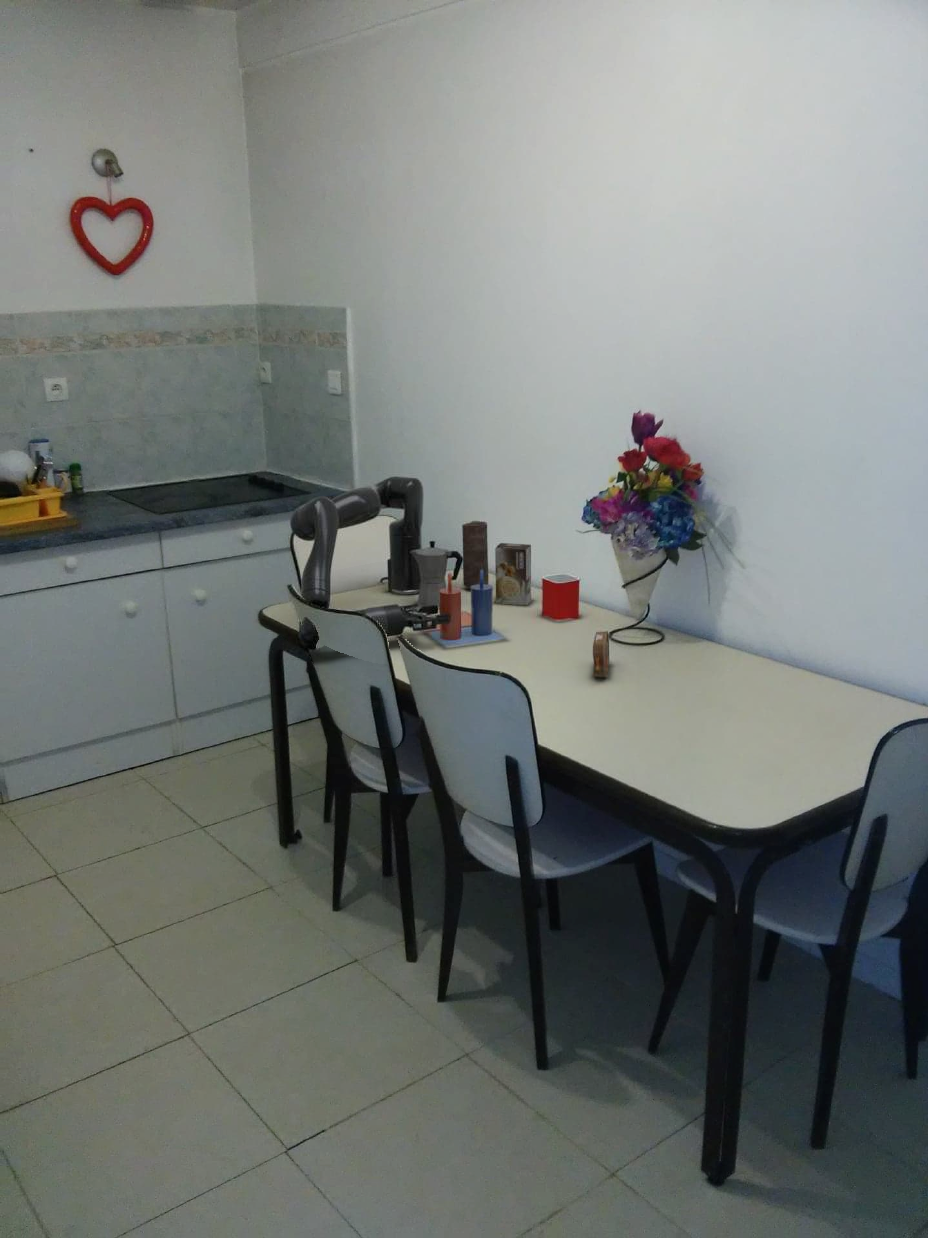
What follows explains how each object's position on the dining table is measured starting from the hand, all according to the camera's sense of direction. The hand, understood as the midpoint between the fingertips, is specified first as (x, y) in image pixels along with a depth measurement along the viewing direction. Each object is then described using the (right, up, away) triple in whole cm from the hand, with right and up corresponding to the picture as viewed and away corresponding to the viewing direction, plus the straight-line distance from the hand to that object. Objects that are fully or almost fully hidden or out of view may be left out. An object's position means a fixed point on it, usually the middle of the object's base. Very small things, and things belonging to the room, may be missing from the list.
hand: (443, 613), depth 264 cm
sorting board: (+3, -4, +10) cm, 11 cm away
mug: (+30, 0, +22) cm, 37 cm away
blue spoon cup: (+10, -5, +6) cm, 12 cm away
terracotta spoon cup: (+2, -6, +2) cm, 7 cm away
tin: (+36, -13, -21) cm, 44 cm away
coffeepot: (-2, +2, +33) cm, 33 cm away
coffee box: (+19, +3, +35) cm, 39 cm away
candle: (+8, +7, +48) cm, 49 cm away
